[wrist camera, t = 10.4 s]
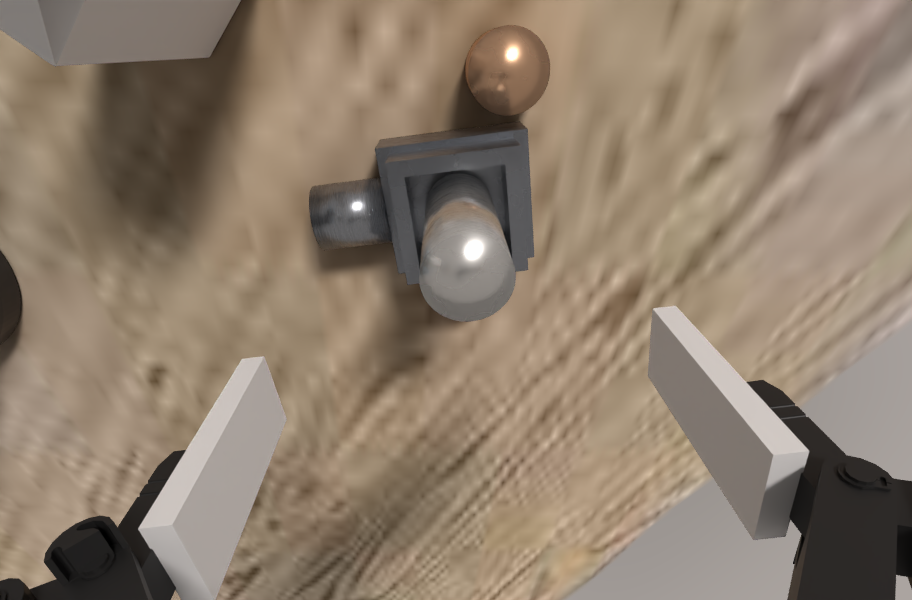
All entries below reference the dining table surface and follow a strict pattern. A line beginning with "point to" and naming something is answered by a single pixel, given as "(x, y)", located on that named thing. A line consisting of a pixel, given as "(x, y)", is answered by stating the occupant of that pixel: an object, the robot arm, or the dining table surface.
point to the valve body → (407, 186)
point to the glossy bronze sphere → (507, 69)
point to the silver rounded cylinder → (464, 251)
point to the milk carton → (116, 28)
